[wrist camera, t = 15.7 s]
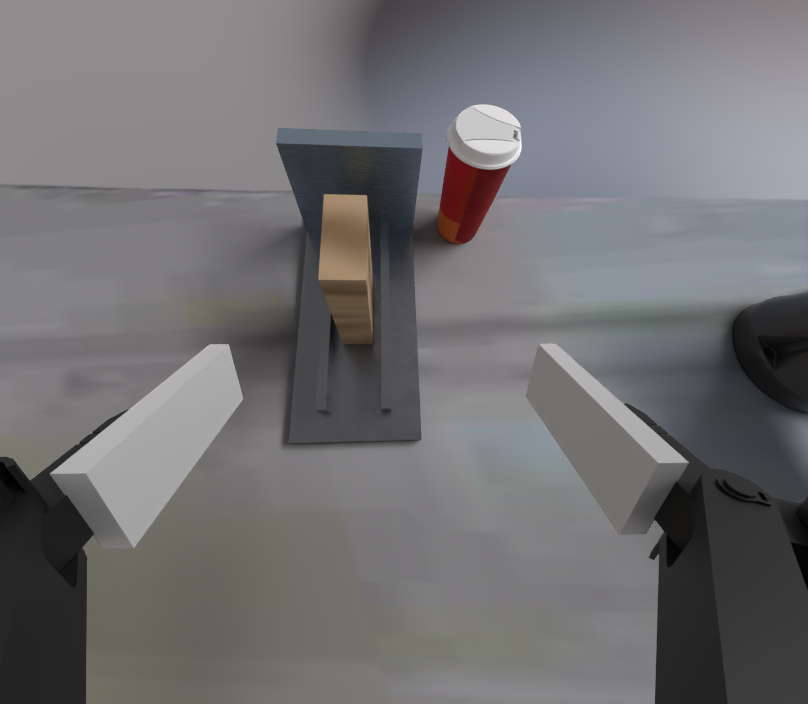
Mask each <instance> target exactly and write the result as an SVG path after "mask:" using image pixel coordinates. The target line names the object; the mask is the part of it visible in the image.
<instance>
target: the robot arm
mask: <svg viewBox="0 0 808 704" xmlns="http://www.w3.org/2000/svg"><path fill="white" fill-rule="evenodd" d="M733 338H734V345H735V350H736V353H737V355H738V358H739V360H740V362H741V364H742V366H743V368H744V369H745V371H746V372H747V374H748V375H749V376H750V378H751V379H752V380H753V381H754V382H755V383H756V385H757V386H758V387H759V388H761V389H762V390H763V391H764V392H765V393H766V394H768V395H769V396H770V397H772V398H773V399H774V400H776V401H778V402H779V403H781V404H783V405H785V406H787V407H789V408H791V409H794V410H797V411H801V412H805V413H808V292H807V293H801V294H795V295H789V296H779V297H774V298H771V299H768V300H765V301H763V302H760V303H758V304H755V305H753V306H751V307H749V308H747V309H745V310H744V311H743V312H742V313H741V314H740V315H739V317H738V319H737V320H736V323H735V326H734V333H733ZM526 397H527V399H528V400H529V402H530V403H531V405H532V406H533V408H534V409H535V411H536V412H537V414H538V415H539V417H540V418H541V419H542V421H543V422H544V424H545V425H546V427H547V428H548V430H549V431H550V433H551V434H552V436H553V437H554V439H555V440H556V442H557V443H558V445H559V446H560V448H561V449H562V451H563V452H564V453H565V455H566V456H567V458H568V459H569V461H570V462H571V464H572V465H573V467H574V468H575V470H576V471H577V473H578V474H579V476H580V477H581V479H582V480H583V482H584V483H585V484H586V486H587V487H588V489H589V490H590V492H591V493H592V495H593V496H594V498H595V499H596V501H597V502H598V504H599V505H600V507H601V508H602V510H603V511H604V513H605V514H606V515H607V517H608V518H609V520H610V521H611V523H612V524H613V526H614V527H615V529H616V530H617V532H618V533H619V535H624V534H646V533H647V531H648V530H649V528H650V526H651V525H652V523H653V521H654V520H656V522H657V523H658V524H659V525H660V526H661V528H662V529H663V530H664V533H663V535H662V536H661V538H660V539H659V541H658V542H657V544H656V545H655V547H654V548H653V550H652V551H651V554H650V556H649V558H651V559H653V560H654V559H655V558H656V556H657V555H658V554H659V584H658V619H657V653H656V687H655V704H808V497H807V498H806V499H805V500H804V501H803V503H802V504H798V503H794V502H789V501H785V500H780V499H776V498H772V497H770V496H769V495H768V494H767V493H766V492H765V491H764V490H762V489H761V488H760V487H758V486H757V485H755V484H753V483H752V482H750V481H749V480H747V479H744V478H742V477H740V476H738V475H736V474H733V473H730V472H726V471H723V470H715V469H709V468H708V467H707V466H706V465H704V464H703V463H702V462H701V461H700V460H699V459H697V458H696V457H695V456H694V455H693V454H692V453H690V452H689V451H688V450H687V449H686V448H684V447H683V446H682V445H681V444H680V443H679V442H677V441H676V440H675V439H674V438H673V437H672V436H670V435H668V434H667V432H666V431H665V430H663V429H662V428H661V427H660V426H657V424H656V423H655V422H654V421H653V420H652V419H650V418H649V417H648V416H647V415H646V414H645V413H643V412H641V411H640V410H638V409H636V408H634V407H632V406H631V405H629V404H623V403H622V402H621V401H619V400H618V399H617V398H616V397H615V396H614V395H613V394H612V393H610V392H609V391H608V390H607V389H606V388H605V387H604V386H603V385H601V384H600V383H599V382H598V381H597V380H596V379H595V378H594V377H592V376H591V375H590V374H589V373H588V372H587V371H586V370H585V369H583V368H582V367H581V366H580V365H579V364H578V363H577V362H576V361H574V360H573V359H572V358H571V357H570V356H569V355H568V354H567V353H565V352H564V351H563V350H562V349H561V348H560V347H559V346H558V345H556V344H538V348H537V352H536V356H535V360H534V365H533V369H532V373H531V377H530V381H529V385H528V390H527V394H526ZM242 400H243V395H242V392H241V388H240V384H239V381H238V377H237V373H236V370H235V366H234V362H233V358H232V355H231V351H230V347H229V344H209V345H208V346H207V347H206V348H204V349H203V350H202V351H201V352H200V353H198V354H197V355H196V356H195V357H193V358H192V359H191V360H190V361H188V362H187V363H186V364H185V365H184V366H182V367H181V368H180V369H179V370H177V371H176V372H175V373H174V374H172V375H171V376H170V377H169V378H167V379H166V380H165V381H164V382H163V383H161V384H160V385H159V386H158V387H156V388H155V389H154V390H153V391H151V392H150V393H149V394H148V395H146V396H145V397H144V398H143V399H142V400H140V401H139V402H138V403H137V404H135V405H134V406H133V407H132V408H130V409H128V410H126V411H124V412H122V413H120V414H118V415H116V416H114V417H112V418H110V419H109V420H107V421H106V422H105V423H103V424H102V425H101V426H99V427H98V428H97V429H96V430H94V431H93V434H89V435H88V436H87V437H85V438H84V439H83V440H82V441H80V444H79V445H75V446H74V447H73V448H71V449H70V450H69V451H68V452H66V453H65V454H64V455H63V456H61V457H60V458H59V459H57V460H56V461H55V462H54V463H52V464H51V465H50V466H49V467H47V468H46V469H45V470H43V471H42V472H41V473H40V474H38V475H37V476H36V477H35V478H33V479H32V480H31V481H30V480H29V479H28V478H27V476H26V475H25V474H24V473H23V471H22V470H21V469H20V467H19V466H18V465H17V464H16V462H15V461H14V460H13V459H11V458H8V457H0V704H86V614H87V557H86V554H85V552H84V550H83V549H82V547H83V546H84V545H85V544H86V542H87V541H88V540H89V539H90V538H91V537H92V536H93V535H94V536H95V538H96V539H97V541H98V542H99V543H100V545H101V546H102V548H103V549H120V548H134V547H135V546H136V545H137V543H138V542H139V540H140V539H141V538H142V536H143V535H144V534H145V532H146V531H147V530H148V528H149V527H150V525H151V524H152V523H153V521H154V520H155V519H156V517H157V516H158V515H159V513H160V512H161V510H162V509H163V508H164V506H165V505H166V504H167V502H168V501H169V500H170V498H171V497H172V495H173V494H174V493H175V491H176V490H177V489H178V487H179V486H180V485H181V483H182V482H183V480H184V479H185V478H186V476H187V475H188V474H189V472H190V471H191V470H192V468H193V467H194V465H195V464H196V463H197V461H198V460H199V459H200V457H201V456H202V455H203V453H204V452H205V450H206V449H207V448H208V446H209V445H210V444H211V442H212V441H213V440H214V438H215V437H216V435H217V434H218V433H219V431H220V430H221V429H222V427H223V426H224V425H225V423H226V422H227V420H228V419H229V418H230V416H231V415H232V414H233V412H234V411H235V410H236V408H237V407H238V405H239V404H240V403H241V401H242Z"/></svg>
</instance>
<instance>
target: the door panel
mask: <svg viewBox="0 0 808 704" xmlns="http://www.w3.org/2000/svg"><path fill="white" fill-rule="evenodd" d="M318 281H319V283H320V286H321V288H322V291H323V293H324V296H325V299H326V301H327V304H328V306H329V309H330V312H331V314H332V317H333V319H334V322H335V325H336V327H337V330H338V332H339V335H340V338H341V340H342V343H343V344H373V274H372V260H371V245H370V231H369V217H368V202H367V195H336V194H324V201H323V216H322V231H321V246H320V261H319V277H318Z"/></svg>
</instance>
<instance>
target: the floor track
mask: <svg viewBox="0 0 808 704" xmlns="http://www.w3.org/2000/svg"><path fill="white" fill-rule="evenodd" d="M276 144H277V147H278V150H279V153H280V156H281V158H282V161H283V164H284V167H285V170H286V173H287V176H288V178H289V181H290V184H291V187H292V190H293V193H294V195H295V198H296V201H297V204H298V207H299V210H300V213H301V215H302V218H303V221H304V224H305V227H306V230H307V234H306V246H305V257H304V269H303V281H302V292H301V304H300V315H299V327H298V339H297V350H296V362H295V373H294V385H293V397H292V408H291V420H290V431H289V443H325V442H362V441H398V440H421V421H420V398H419V376H418V354H417V331H416V309H415V286H414V264H413V241H412V229H413V221H414V213H415V205H416V197H417V188H418V180H419V173H420V164H421V155H422V134H418V133H392V132H367V131H341V130H315V129H290V128H289V129H288V128H278V133H277V140H276ZM324 194H336V195H367V202H368V217H369V231H370V245H371V260H372V274H373V344H343V343H342V340H341V338H340V335H339V332H338V330H337V327H336V325H335V322H334V319H333V317H332V314H331V312H330V309H329V306H328V304H327V301H326V299H325V296H324V293H323V291H322V288H321V286H320V283H319V281H318V277H319V261H320V246H321V231H322V216H323V201H324Z"/></svg>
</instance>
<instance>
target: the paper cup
mask: <svg viewBox="0 0 808 704" xmlns="http://www.w3.org/2000/svg"><path fill="white" fill-rule="evenodd" d="M446 141H447V143H448V145H449V149H448V156H447V162H446V169H445V176H444V182H443V189H442V195H441V202H440V209H439V216H438V231H439V233H440V235H441V236H442V237H443V238H444V239H445V240H447V241H449V242H451V243H455V244H462V243H466V242H468V241H470V240H471V239H472V238H473V237H474V236H475V234H476V232H477V230H478V228H479V227H480V225H481V223H482V221H483V219H484V217H485V215H486V213H487V211H488V210H489V208H490V206H491V204H492V202H493V200H494V198H495V196H496V194H497V192H498V190H499V188H500V186H501V184H502V182H503V179H504V178H505V176H506V174H507V172H508V170H509V168H510V166H511V164H512V163H513V162H514V161H516V159H517V158H518V157H519V155H520V152H521V148H522V147H521V146H522V144H521V126H520V124H519V122H518V121H517V120H516V118H515V117H514V116H513V115H512V114H510V113H509V112H507V111H506V110H504V109H502V108H499V107H496V106H492V105H474V106H471V107H469V108H467V109H465V110H464V111H462V112H461V113H460V114H459V116H458V117H457V118H455V119H454V121H453V122H452V125H451V126H450V127H449V128H448V130H447V133H446Z"/></svg>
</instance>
